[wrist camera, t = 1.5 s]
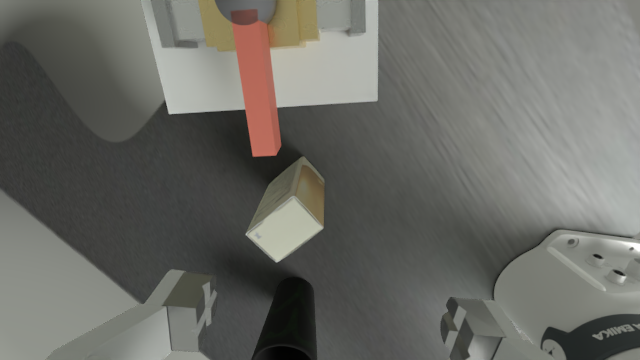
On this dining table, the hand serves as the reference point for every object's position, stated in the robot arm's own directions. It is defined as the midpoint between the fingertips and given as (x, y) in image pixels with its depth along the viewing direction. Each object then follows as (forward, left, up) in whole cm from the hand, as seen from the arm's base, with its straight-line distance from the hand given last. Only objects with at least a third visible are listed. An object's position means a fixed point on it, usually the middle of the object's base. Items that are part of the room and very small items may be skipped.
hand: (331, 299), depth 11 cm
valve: (+6, -12, -28) cm, 31 cm away
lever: (+6, -7, -19) cm, 22 cm away
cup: (+7, +25, -28) cm, 38 cm away
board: (+7, -10, -28) cm, 30 cm away
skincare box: (+5, +7, -28) cm, 29 cm away
